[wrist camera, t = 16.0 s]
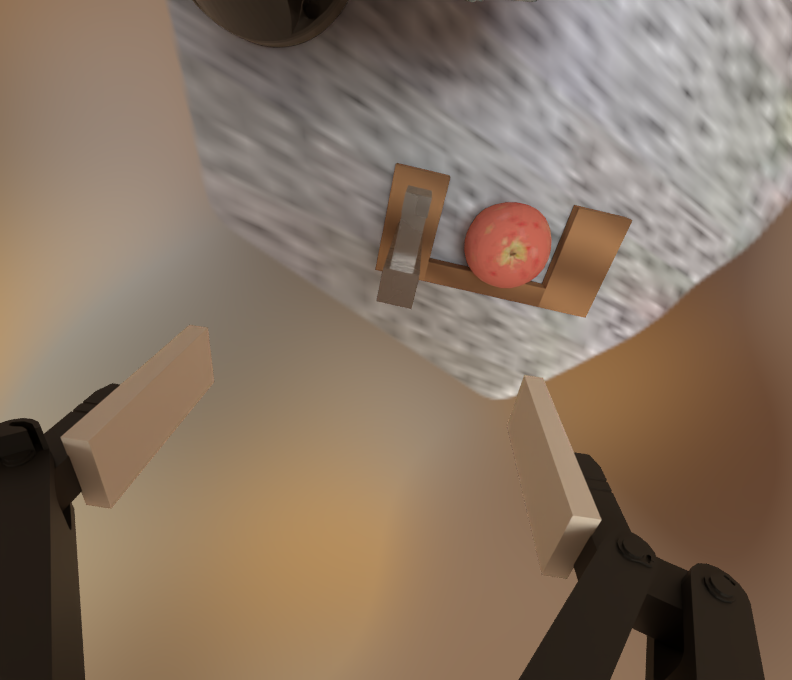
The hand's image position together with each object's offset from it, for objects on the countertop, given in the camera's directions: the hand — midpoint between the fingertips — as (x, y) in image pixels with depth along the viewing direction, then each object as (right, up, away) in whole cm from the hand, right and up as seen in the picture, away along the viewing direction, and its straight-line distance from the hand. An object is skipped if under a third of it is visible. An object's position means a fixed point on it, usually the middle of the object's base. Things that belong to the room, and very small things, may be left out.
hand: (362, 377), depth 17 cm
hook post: (+3, +14, +21) cm, 25 cm away
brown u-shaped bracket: (+11, +11, +23) cm, 28 cm away
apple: (+12, +12, +23) cm, 28 cm away
